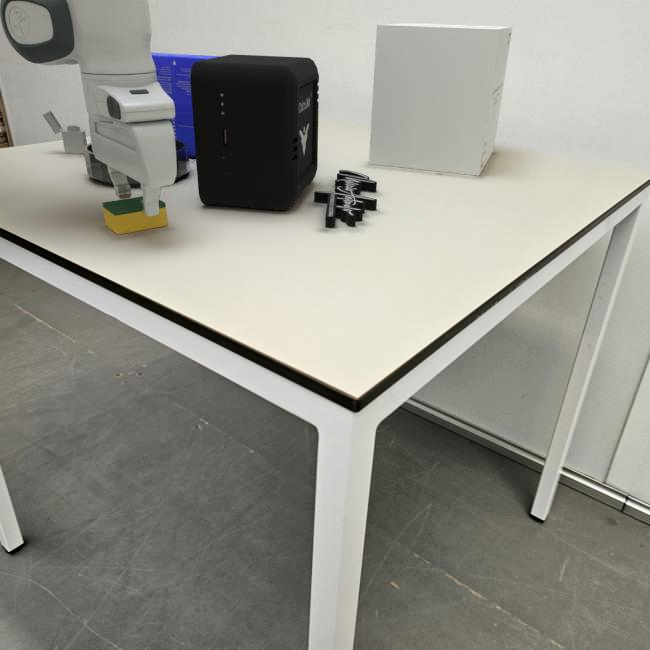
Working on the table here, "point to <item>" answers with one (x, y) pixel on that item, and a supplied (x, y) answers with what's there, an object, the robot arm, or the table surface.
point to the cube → (437, 95)
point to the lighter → (68, 135)
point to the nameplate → (347, 198)
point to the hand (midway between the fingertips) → (136, 205)
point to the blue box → (179, 91)
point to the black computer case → (255, 129)
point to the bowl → (101, 173)
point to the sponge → (132, 216)
